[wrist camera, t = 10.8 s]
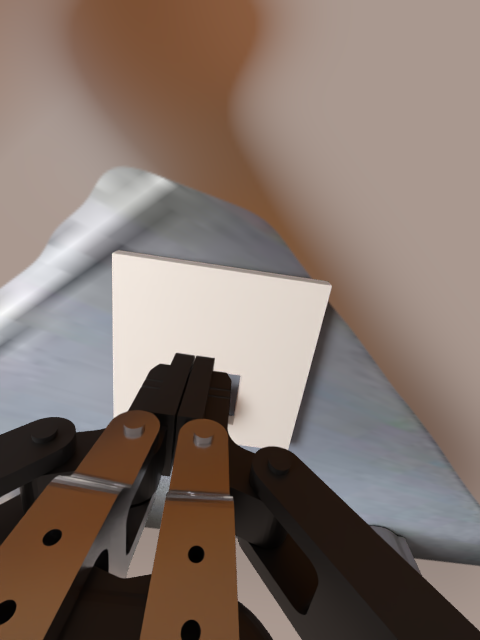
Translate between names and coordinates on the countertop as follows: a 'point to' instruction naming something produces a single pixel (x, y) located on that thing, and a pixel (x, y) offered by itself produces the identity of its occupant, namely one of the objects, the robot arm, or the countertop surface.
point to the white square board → (219, 334)
